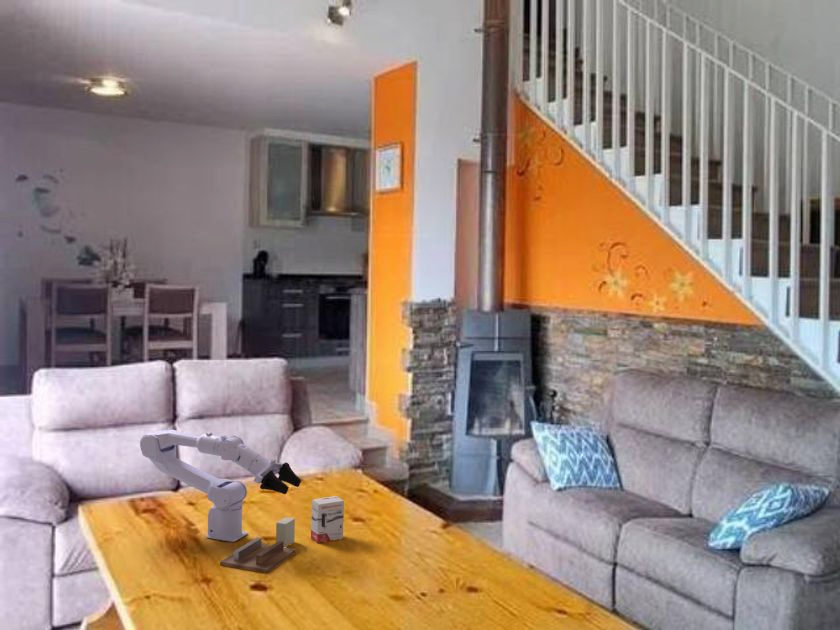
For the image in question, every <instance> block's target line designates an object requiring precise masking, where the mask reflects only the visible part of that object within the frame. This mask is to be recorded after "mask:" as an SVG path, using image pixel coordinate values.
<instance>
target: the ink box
mask: <svg viewBox="0 0 840 630" xmlns="http://www.w3.org/2000/svg"><path fill="white" fill-rule="evenodd" d="M344 512H345V500H344V499H343V498H340V497H339V496H337V495H334V496H328V497H321V498H314V499H312V501H311V523H310V525H311V526H310V539H312V540H313V541H314V542H315V541H316V542H315V543H317V544H320V543H319V542H322V543H325V542H324V541H327V542H331V541H330V540H333V541H336V540H337V539H339V540H343V539H344V520H345V519H344V518H345V516H344ZM342 538H343V539H342ZM337 541H338V540H337Z"/></svg>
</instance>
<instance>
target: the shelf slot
mask: <svg viewBox="0 0 840 630" xmlns="http://www.w3.org/2000/svg"><path fill="white" fill-rule="evenodd" d="M296 552H297V551H296V549H295V548H289V547H286V548H284V547H283V541H278V542H276V541H275V543H273V544H264V543H262V547H260V548H259V549H257V550H256V551H254V552H252V553H251V554H249V555H248V556H246V557H245V558H243V559H241V560H240V561H234V553H232V554H230V555H229V556H227V557H225V558H224V559H222V560H220V562H219V563H220V564H219V565H220V566H222V565H223V566H224V567H228V568H234V569H240V570H245V571H251V572H256V573H257V572H258V573H263V574H268V573H269V572H270V571H272V570H273V569H276V567H278V566H280V564H282V563H283V562H285V561H286V560H287V558H288V559H289V558H291V557H292V556H293V555H295V554H296ZM294 553H295V554H294ZM223 566H222V567H223Z"/></svg>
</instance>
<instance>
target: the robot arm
mask: <svg viewBox="0 0 840 630" xmlns="http://www.w3.org/2000/svg"><path fill="white" fill-rule="evenodd" d="M177 446H180V447H181V446H182V447H189V448H196V449H197V451H198V452H199V453H202V454H205V455H207V454H208V455H212V456H218V457H221V459H220V460H223V461H231V462H233V463H234V464H236V465H238V466H240V467H241V468H242V469H244V470H246V471H248V472H249V473H251V474H252V475H254V479H253V481H254V482H255V483H256V484H258V485H260V486H259V488H260V489H261V490H268V491H273V492H277V493H280V494H282V495H286V494H287V493H288V491H289V489H290V487H289V486H288V485H287V484H286V483H288V484H289V485H291V486H294V487H297V488H298V487H300V485H301V483H302V480H301V478H300V477H299V476H298V475H297V474H296V473H295V472H294V471H293V469H292V468H291V465H290V463H288V462H284V463H282V462H277V460H276V459H275V458H273V459H271V460H270V459H268V458H267V457H265V456H263V455H262V454H261V453H259V452H257V451H255V450H254V449H252V448H250V447H249V446H247V445H246V444H245V443H244V441H243V439H241V437H239V436H237V435H233V436H231V437H227V435H224V434H223V435H216V434H213V432H211V431H208V432H206V433H203V434H201V435H200V436H199V435H194V434H191V433H187V432H183V431H179V430H175V429H168V428H164V429H161V430H158V431H156V432H155V431H154V432H152V433H147V434H144V435H143V436H141V438H140V441H139V447H140V451H141V455H142V456H143V457H145V458H147V459H149V461H151V463H152V464H153V465H154V466H155V467H156V468H157V470H159V471H160V472H161V473H163V474H165V475H167V476H169V477H171V478H174V479H175V480H177V481H180V482H181V483H184V484H185V485H188V486H190V487H192V488H194V489H196V490H198V491H200V492H201V493H205V494H207V501H209V502H211V503H213V505H212V506H211V507H210V509H209V511H208V514H207V515H208V516H207V535H206V536H205V538H208V539H212V540H218V541H219V540H220V541H225V542H229V543H235V542H236V541H238V540H240V539H242V538H243V537H245V536H247V535H249V533H248V532H249V531H243V504H244V500H245V499H246V497H247V495H248V489H247V486H246V485H245V483H244V482H242V481H240V480H233V479H229V478H219V477H216V476H214V475H213V474H210V473H209V472H206V471H204V470H201V469H199V468H198V467H196V466H194V465H192V464H189V463H187V462H185V461H183V460H181V459H179V458H177V457H176V456H177ZM276 474H278V477H277V475H276Z"/></svg>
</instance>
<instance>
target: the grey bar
mask: <svg viewBox="0 0 840 630" xmlns="http://www.w3.org/2000/svg"><path fill="white" fill-rule="evenodd" d="M262 538H263V537H255V538H253V539H252V540H250V541H248V542H247V543H245V544H243V545H242V546H240V547H239V548H237V549H235V550H234V551H233V554H234V561H240V560H241V559H243V558H245V557H246V556H248V555H249V554H251V553H252V552H254V551H256V550H257V549H259V548H260V547H262V544H263V542H262Z"/></svg>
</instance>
